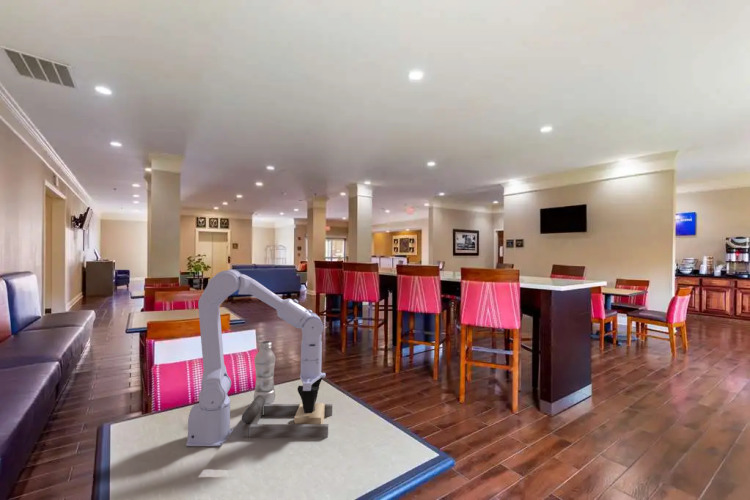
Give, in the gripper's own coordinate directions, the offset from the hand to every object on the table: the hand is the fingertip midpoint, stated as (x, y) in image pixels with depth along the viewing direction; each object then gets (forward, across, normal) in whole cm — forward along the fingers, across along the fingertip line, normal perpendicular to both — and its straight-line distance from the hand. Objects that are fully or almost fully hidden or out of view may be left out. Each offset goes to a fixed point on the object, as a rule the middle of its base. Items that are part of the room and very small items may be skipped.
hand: (310, 407), depth 97 cm
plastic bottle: (+6, +16, +17) cm, 24 cm away
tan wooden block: (+5, 0, 0) cm, 5 cm away
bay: (+6, 0, +5) cm, 8 cm away
